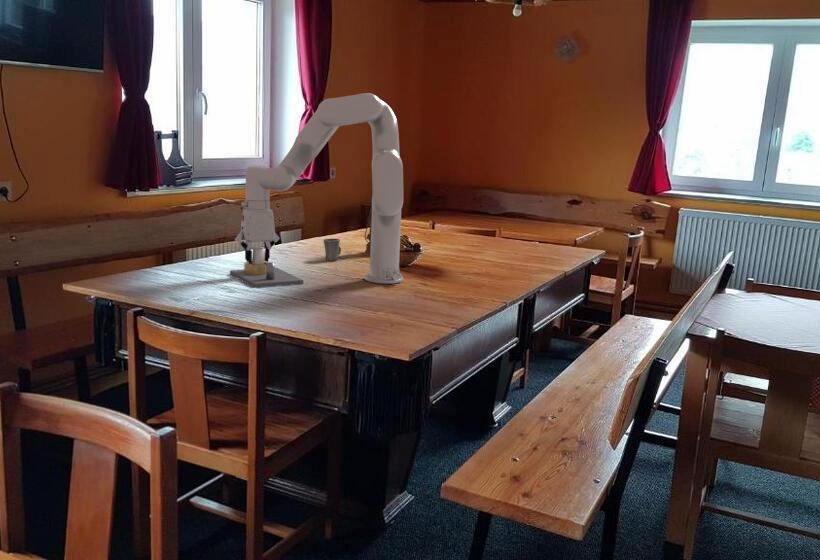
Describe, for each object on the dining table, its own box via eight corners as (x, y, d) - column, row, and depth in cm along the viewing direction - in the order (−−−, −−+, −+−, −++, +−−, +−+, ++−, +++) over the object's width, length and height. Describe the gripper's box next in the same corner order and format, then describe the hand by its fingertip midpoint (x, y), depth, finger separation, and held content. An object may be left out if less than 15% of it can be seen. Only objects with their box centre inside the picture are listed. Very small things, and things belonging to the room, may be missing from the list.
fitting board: (303, 283, 234) (303, 280, 233) (254, 287, 225) (254, 283, 225) (276, 270, 252) (276, 267, 251) (230, 274, 243) (230, 270, 243)
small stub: (275, 279, 232) (275, 263, 231) (267, 280, 231) (268, 264, 230) (272, 277, 234) (272, 262, 233) (264, 278, 233) (264, 262, 232)
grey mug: (344, 257, 284) (344, 236, 283) (336, 262, 272) (337, 241, 270) (328, 256, 285) (329, 235, 283) (320, 261, 272) (320, 240, 271)
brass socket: (273, 273, 240) (273, 264, 240) (249, 275, 236) (249, 266, 236) (264, 269, 247) (264, 260, 246) (241, 270, 243) (241, 261, 242)
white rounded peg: (265, 273, 241) (267, 249, 240) (254, 273, 239) (255, 249, 237) (261, 270, 244) (262, 246, 243) (249, 270, 242) (251, 246, 240)
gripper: (235, 207, 230) (235, 265, 233) (287, 206, 239) (286, 262, 242) (227, 204, 236) (227, 261, 239) (278, 203, 245) (277, 258, 249)
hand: (257, 261), depth 241 cm, fingers open, 5 cm apart
